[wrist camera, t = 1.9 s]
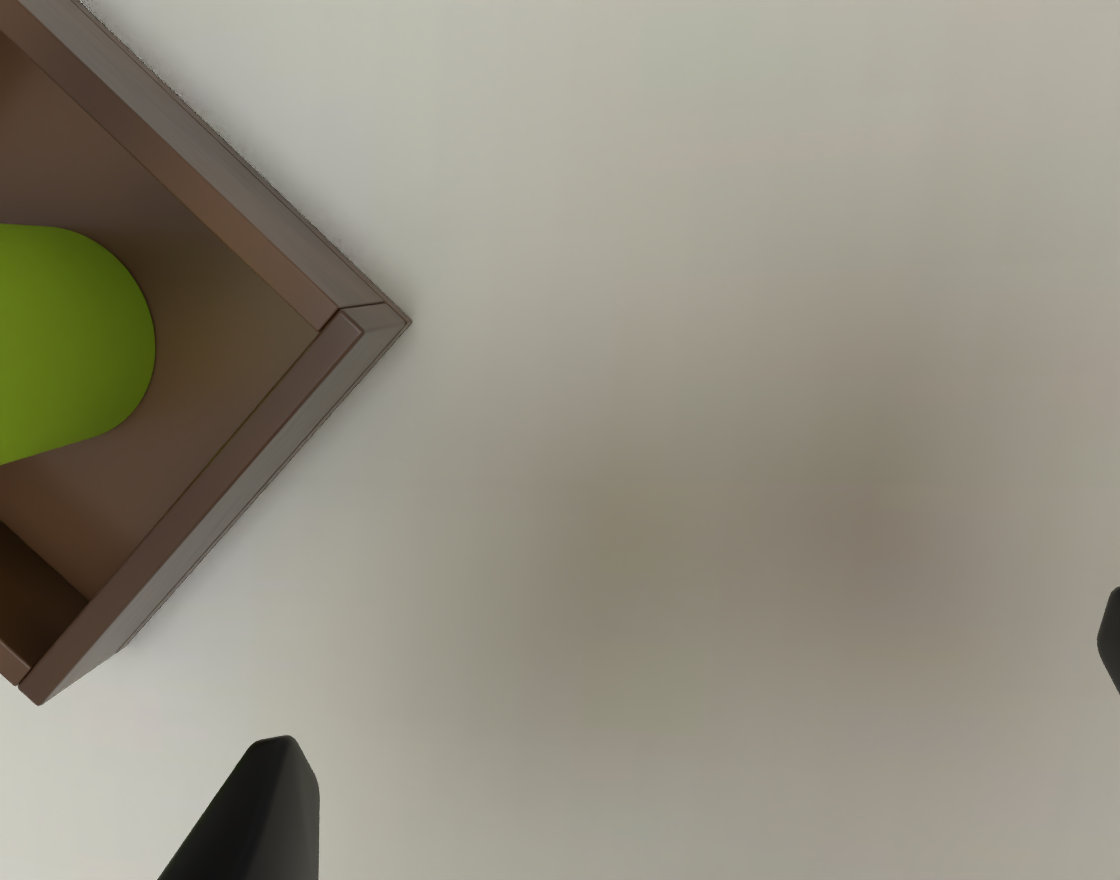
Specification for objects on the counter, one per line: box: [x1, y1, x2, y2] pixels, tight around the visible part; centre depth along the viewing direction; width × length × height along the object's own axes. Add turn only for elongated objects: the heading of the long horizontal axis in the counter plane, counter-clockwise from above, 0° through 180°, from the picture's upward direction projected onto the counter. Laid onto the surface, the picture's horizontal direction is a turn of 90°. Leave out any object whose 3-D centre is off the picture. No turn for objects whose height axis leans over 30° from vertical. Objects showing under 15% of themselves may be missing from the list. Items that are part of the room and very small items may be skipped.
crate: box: [0, 0, 412, 706], centre depth 23 cm, size 15×14×4 cm
